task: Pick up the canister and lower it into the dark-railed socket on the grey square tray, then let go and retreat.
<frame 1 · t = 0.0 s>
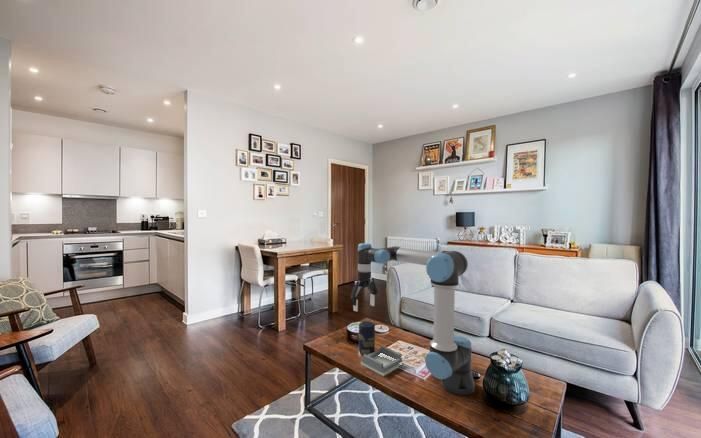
hand: (364, 308, 165), 28 cm above the table, fingers open, 13 cm apart
canister: (366, 352, 171), on the table
grey square tray: (381, 364, 157), on the table
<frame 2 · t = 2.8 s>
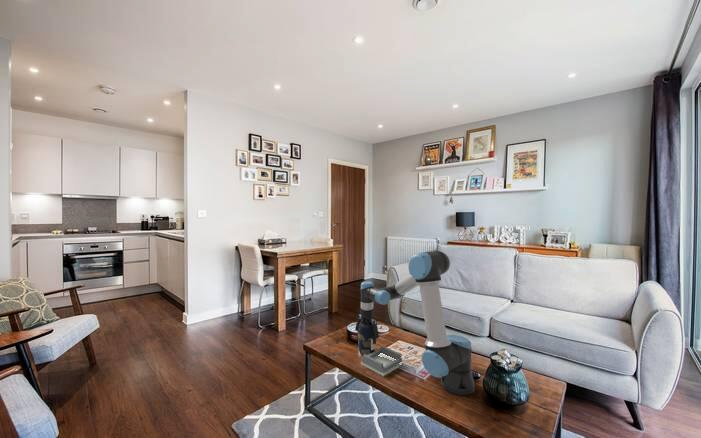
hand: (366, 346, 171), 4 cm above the table, fingers closed on canister, 9 cm apart
canister: (366, 352, 171), on the table, touching gripper
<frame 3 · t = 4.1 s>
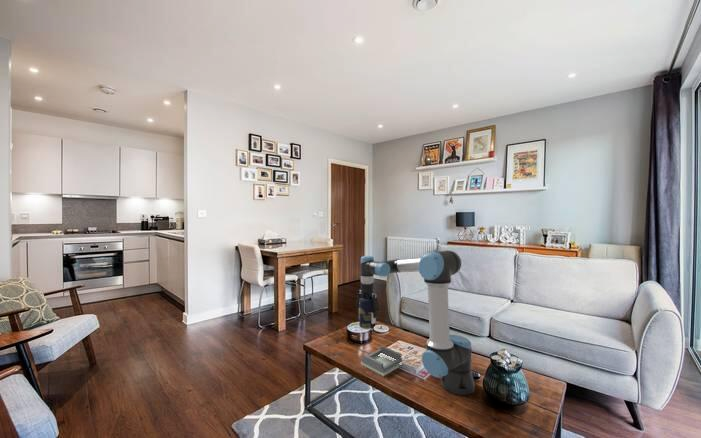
hand: (367, 320, 170), 19 cm above the table, fingers closed on canister, 9 cm apart
canister: (367, 327, 171), point 15 cm above the table, touching gripper
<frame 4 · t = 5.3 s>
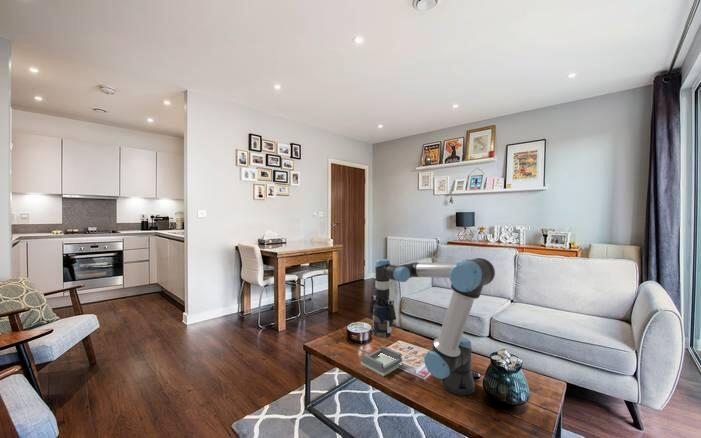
hand: (382, 329, 157), 19 cm above the table, fingers closed on canister, 9 cm apart
canister: (382, 336, 157), point 15 cm above the table, touching gripper
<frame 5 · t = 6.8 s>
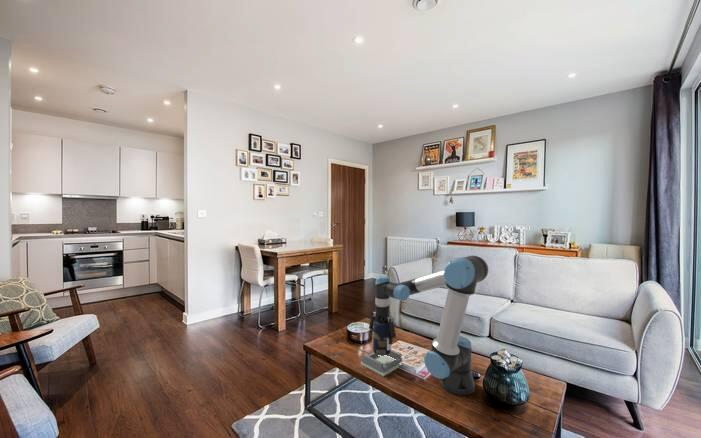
hand: (381, 346, 157), 10 cm above the table, fingers closed on canister, 9 cm apart
canister: (381, 353, 157), point 6 cm above the table, touching gripper
when the fingers open (7 cm above the table, at t = 8.1 s): canister drops 1 cm, resting on grey square tray.
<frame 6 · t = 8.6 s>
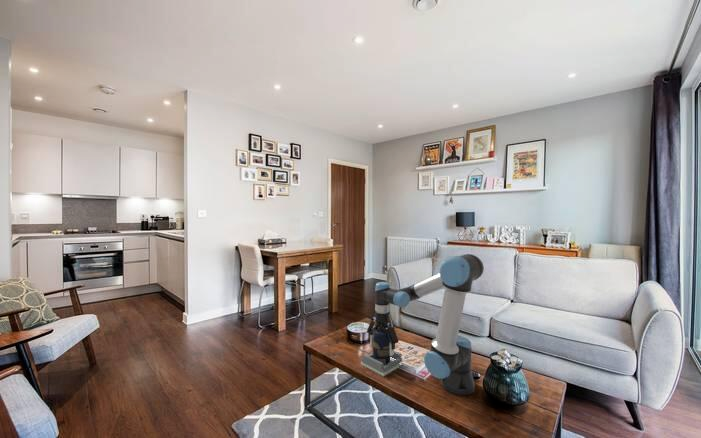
hand: (381, 350, 157), 8 cm above the table, fingers open, 13 cm apart
canister: (381, 361, 158), point 1 cm above the table, touching grey square tray
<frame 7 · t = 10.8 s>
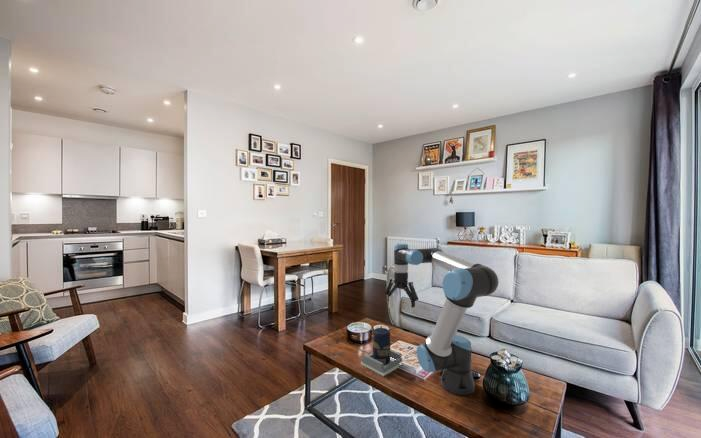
hand: (400, 310, 161), 28 cm above the table, fingers open, 13 cm apart
nothing on the table moved.
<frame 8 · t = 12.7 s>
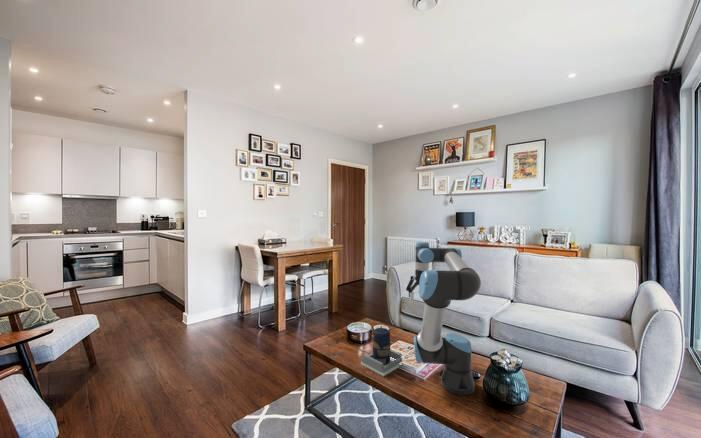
hand: (421, 306, 167), 29 cm above the table, fingers open, 13 cm apart
nothing on the table moved.
at the end: canister inside the target area on the grey square tray (0.3 cm from its centre), point 1.3 cm above the grey square tray's base; canister touching grey square tray; canister tilted 0° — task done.
